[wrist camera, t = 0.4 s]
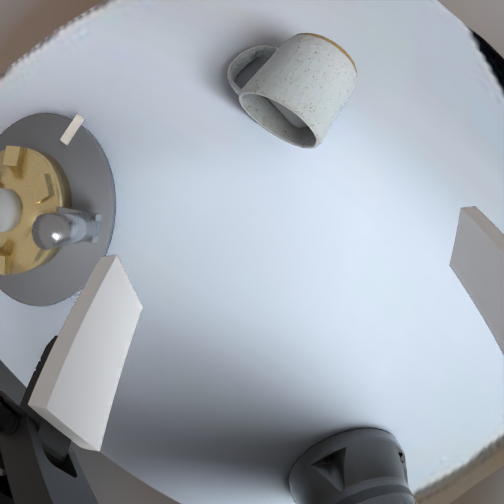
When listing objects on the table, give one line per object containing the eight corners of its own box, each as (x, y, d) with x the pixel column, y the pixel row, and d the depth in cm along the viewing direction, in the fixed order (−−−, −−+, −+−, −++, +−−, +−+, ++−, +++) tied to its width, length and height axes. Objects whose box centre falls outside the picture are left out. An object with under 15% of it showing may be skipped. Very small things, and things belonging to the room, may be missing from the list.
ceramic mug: (348, 92, 27) (377, 59, 20) (307, 157, 28) (328, 138, 20) (256, 38, 27) (258, -6, 19) (209, 99, 27) (198, 64, 20)
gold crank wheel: (-15, 255, 26) (-68, 267, 18) (-1, 147, 25) (-55, 136, 16) (101, 291, 27) (53, 321, 19) (121, 161, 26) (75, 142, 17)
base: (103, 324, 29) (71, 351, 22) (-26, 277, 28) (-63, 289, 21) (136, 122, 27) (108, 100, 20) (-4, 116, 26) (-41, 103, 19)
